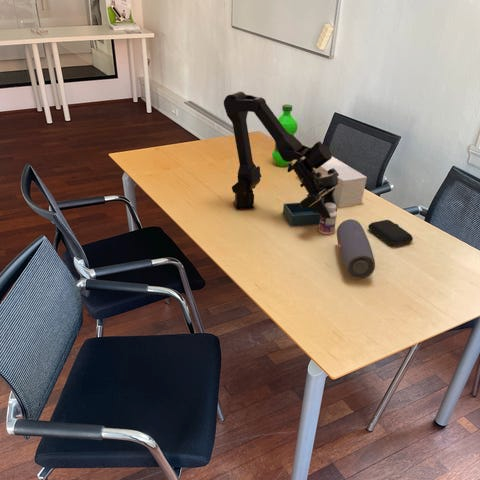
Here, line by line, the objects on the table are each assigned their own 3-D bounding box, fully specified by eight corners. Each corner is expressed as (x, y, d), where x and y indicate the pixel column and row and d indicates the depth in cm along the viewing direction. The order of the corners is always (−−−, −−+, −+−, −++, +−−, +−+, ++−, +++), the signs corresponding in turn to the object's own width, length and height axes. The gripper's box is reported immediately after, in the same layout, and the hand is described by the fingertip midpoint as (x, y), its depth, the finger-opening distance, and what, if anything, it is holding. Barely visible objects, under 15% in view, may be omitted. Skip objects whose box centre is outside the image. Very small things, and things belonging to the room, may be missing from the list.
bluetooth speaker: (332, 244, 156) (337, 217, 150) (359, 245, 156) (365, 218, 150) (341, 282, 139) (347, 253, 132) (372, 283, 139) (380, 254, 132)
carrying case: (416, 243, 159) (389, 224, 169) (419, 235, 157) (391, 216, 167) (391, 248, 155) (365, 229, 166) (393, 240, 153) (366, 221, 164)
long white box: (296, 177, 201) (299, 152, 194) (317, 174, 205) (321, 149, 198) (338, 207, 179) (343, 180, 172) (361, 203, 182) (367, 177, 176)
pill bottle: (317, 227, 166) (320, 201, 160) (331, 227, 166) (336, 201, 160) (320, 234, 161) (324, 208, 155) (335, 234, 162) (340, 208, 156)
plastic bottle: (266, 164, 212) (270, 106, 196) (278, 158, 219) (283, 101, 203) (285, 169, 208) (291, 110, 192) (297, 163, 214) (303, 105, 199)
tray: (291, 226, 166) (292, 216, 163) (282, 213, 173) (283, 203, 171) (323, 223, 168) (325, 213, 166) (313, 211, 176) (314, 201, 173)
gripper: (313, 171, 144) (340, 213, 147) (337, 154, 157) (361, 194, 159) (288, 189, 153) (314, 229, 155) (313, 172, 165) (336, 209, 168)
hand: (332, 214), depth 159 cm, fingers closed on pill bottle, 5 cm apart
